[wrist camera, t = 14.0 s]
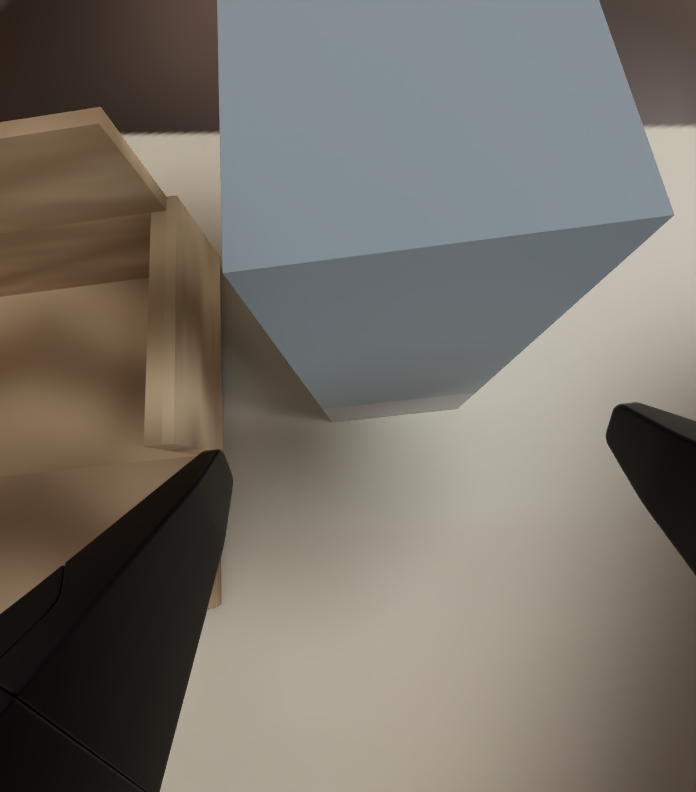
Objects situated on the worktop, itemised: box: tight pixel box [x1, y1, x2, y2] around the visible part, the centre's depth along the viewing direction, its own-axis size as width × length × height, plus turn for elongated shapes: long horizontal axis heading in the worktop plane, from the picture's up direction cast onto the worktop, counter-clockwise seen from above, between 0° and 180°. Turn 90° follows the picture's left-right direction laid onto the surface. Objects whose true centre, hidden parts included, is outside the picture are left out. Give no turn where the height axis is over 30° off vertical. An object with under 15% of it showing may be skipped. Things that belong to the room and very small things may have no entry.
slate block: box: [217, 0, 674, 422], centre depth 11 cm, size 6×6×12 cm
